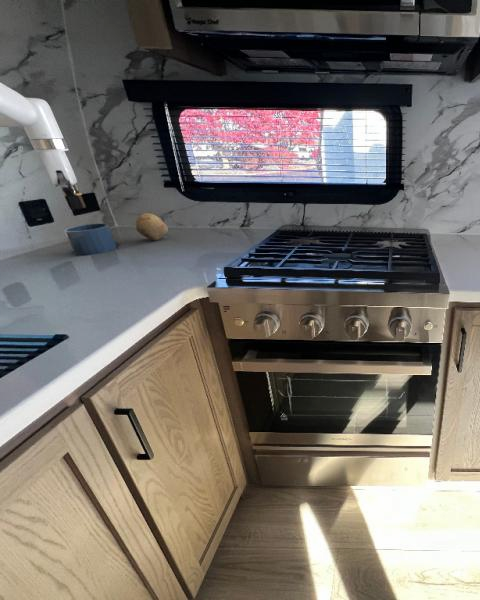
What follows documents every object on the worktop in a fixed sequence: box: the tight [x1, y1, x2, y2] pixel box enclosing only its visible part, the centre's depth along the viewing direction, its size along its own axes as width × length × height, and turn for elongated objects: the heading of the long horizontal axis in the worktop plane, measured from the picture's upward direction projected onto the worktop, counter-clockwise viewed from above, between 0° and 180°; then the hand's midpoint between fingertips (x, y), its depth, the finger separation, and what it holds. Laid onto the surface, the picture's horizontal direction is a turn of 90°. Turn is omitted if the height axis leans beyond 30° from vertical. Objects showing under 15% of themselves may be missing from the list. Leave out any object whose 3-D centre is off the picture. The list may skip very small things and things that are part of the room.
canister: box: [63, 222, 118, 257], centre depth 112 cm, size 11×11×8 cm
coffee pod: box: [62, 192, 87, 209], centre depth 107 cm, size 4×4×4 cm
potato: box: [135, 212, 169, 241], centre depth 122 cm, size 9×9×10 cm
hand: (78, 206), depth 108 cm, fingers closed on coffee pod, 4 cm apart
